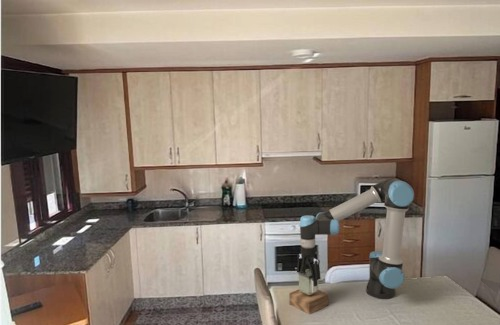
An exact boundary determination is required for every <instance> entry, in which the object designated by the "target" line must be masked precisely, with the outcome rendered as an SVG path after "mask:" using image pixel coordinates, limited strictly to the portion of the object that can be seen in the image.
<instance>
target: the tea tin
mask: <svg viewBox="0 0 500 325" xmlns="http://www.w3.org/2000/svg"><path fill="white" fill-rule="evenodd" d="M297 273H298V289H299V291H300V292H303V293H305V294H307V295H311V294H313V293H316V292H318V290H319V280H317V291H316V292H312V279H313V278H312V274H311V270H310V268H306V269H305V270H304V271H301V272H297Z"/></svg>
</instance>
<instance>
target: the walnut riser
mask: <svg viewBox="0 0 500 325" xmlns="http://www.w3.org/2000/svg"><path fill="white" fill-rule="evenodd" d="M289 305H291V306H293V307H294V308H296V309H298V310H300V311H302V312H303V313H306V314H308V315H310V314H313V313H315V312H317V311H320V310H321V309H323V308H326V307H328V306H329V294H328V293H326V292H324V291H323V290H322V291H321V290H319V289H318V292H316V293H313V294H311V295H307V294H305V293H303V292H300V291H299V288H298V289H296V290H293V291H292V292H289Z"/></svg>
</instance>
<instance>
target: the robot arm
mask: <svg viewBox="0 0 500 325" xmlns="http://www.w3.org/2000/svg"><path fill="white" fill-rule="evenodd" d="M414 198H415V192H414V189H413V187H412V185H410V184H409V183H408V182H406V181H403V180H400V179H398V178H394V177H389V178H386V179H384V180H381V181H379V182H378V183H376V184H373V185H372V186H371V187H370V189H368V190H366V191H365V192H362V193H360V194H358V195H356V196H354V197H352V198H350V199H348V200H346V201H344V202H343V203H341V204H338V205H337V206H334V207H333V208H331V209H329V210H326V211H324V212H323V211H322V212H318V213H317V214H316V216H314V215H309V214H308V215H302V216H301V217H300V220H299V221H300V224H299V228H300V229H299V232H300V253H299V254H297V255H296V256H297V264H296V273H298V272H301V271H304V270H306V269H307V266H308V267H309V269H310V270H311V274H312V278H313V279H312V292H316V291H317V280H318V281H319V280H321V279H322V278H321V271H320V267H321V266H320V259H316V236H319V235H320V236H322V235H323V236H324V235H325V236H327V235H329V236H333V235H334V236H335V235H339V233H340V221H342V220H343V219H346V218H348V217H349V216H352V215H353V214H355V213H358V212H360V211H362V210H364V209H366V208H368V207H369V206H372V205H375V203H383V202H384V203H383V204H384V205H383V206H384V207H385V209H386V217H385V226H384V234H383V243H382V250H375V251H374V250H373V251H371V252H370V253H369V257H368V259H369V279H368V281H367V284H366V287H365V289H366V290H365V291H366V294H367V295H368V296H369V297H370V296H371V297H373V298H376V299H382V300H388V299H389V300H390V299H392V298H394V297H396V289H397V288H399V287H400V286H402V285H403V283H404V282H405V273H404V271H403V263H404V261H403V260H402V259H401V252H402V242H403V236H404V235H403V233H404V228H405V227H404V224H405V219H406V218H405V217H406V212H407V211H408V210H409V209H410V205H411V203H412V202H413V201H414Z"/></svg>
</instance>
